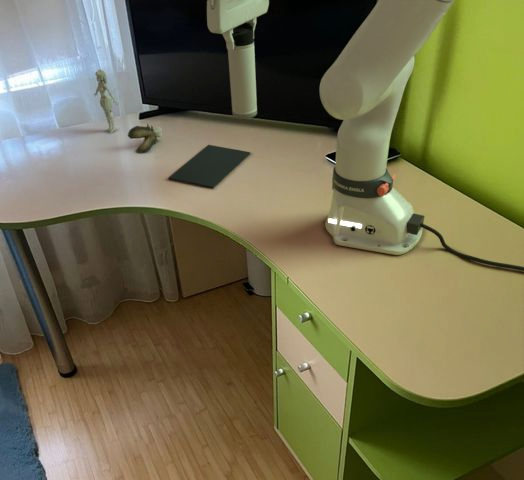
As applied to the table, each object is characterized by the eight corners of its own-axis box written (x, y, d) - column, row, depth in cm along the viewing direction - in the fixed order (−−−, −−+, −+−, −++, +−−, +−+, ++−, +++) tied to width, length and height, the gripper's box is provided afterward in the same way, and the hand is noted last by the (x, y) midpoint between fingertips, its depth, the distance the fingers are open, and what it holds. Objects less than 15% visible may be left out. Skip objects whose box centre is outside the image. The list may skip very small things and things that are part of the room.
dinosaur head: (142, 134, 172) (123, 140, 165) (151, 115, 167) (131, 121, 160) (160, 151, 172) (141, 158, 165) (169, 133, 167) (150, 139, 160)
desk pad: (250, 154, 161) (250, 152, 161) (212, 188, 148) (212, 186, 147) (208, 146, 166) (208, 144, 166) (168, 179, 152) (168, 177, 152)
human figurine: (97, 127, 180) (82, 68, 167) (106, 123, 182) (92, 64, 169) (119, 137, 174) (105, 76, 161) (129, 133, 176) (116, 72, 163)
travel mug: (262, 111, 142) (259, 24, 128) (248, 120, 138) (243, 31, 125) (242, 107, 145) (237, 21, 131) (227, 116, 141) (220, 28, 127)
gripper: (221, -14, 113) (226, 59, 123) (273, -34, 125) (274, 34, 135) (196, -17, 116) (203, 55, 125) (249, -36, 128) (252, 31, 137)
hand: (240, 44), depth 130 cm, fingers closed on travel mug, 6 cm apart
